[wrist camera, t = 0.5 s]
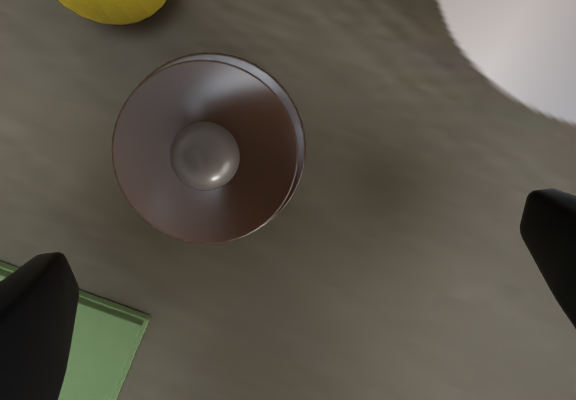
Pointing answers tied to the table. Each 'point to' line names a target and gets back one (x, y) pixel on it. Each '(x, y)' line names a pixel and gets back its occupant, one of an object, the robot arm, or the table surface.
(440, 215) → the table surface
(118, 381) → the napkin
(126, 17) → the lemon
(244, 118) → the pepper mill
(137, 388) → the table surface
